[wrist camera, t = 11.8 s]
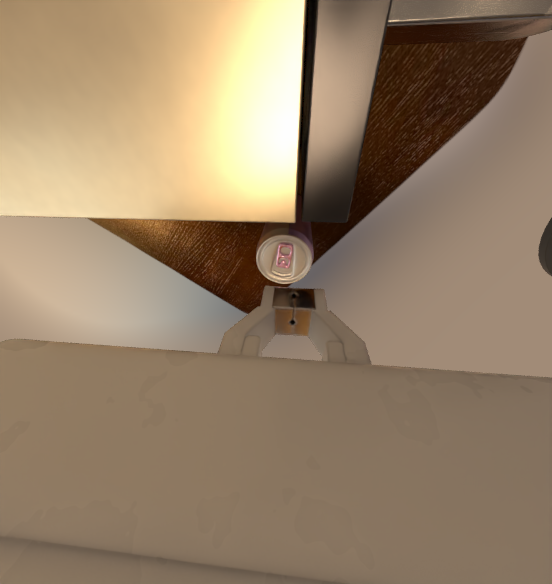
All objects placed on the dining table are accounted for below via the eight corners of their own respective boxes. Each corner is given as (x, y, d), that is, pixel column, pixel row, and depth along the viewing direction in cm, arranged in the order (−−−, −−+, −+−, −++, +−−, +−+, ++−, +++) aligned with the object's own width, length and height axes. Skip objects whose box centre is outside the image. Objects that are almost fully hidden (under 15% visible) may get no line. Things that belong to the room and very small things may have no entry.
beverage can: (313, 195, 31) (320, 238, 19) (304, 233, 34) (307, 289, 23) (273, 188, 31) (256, 228, 19) (269, 228, 34) (252, 280, 23)
